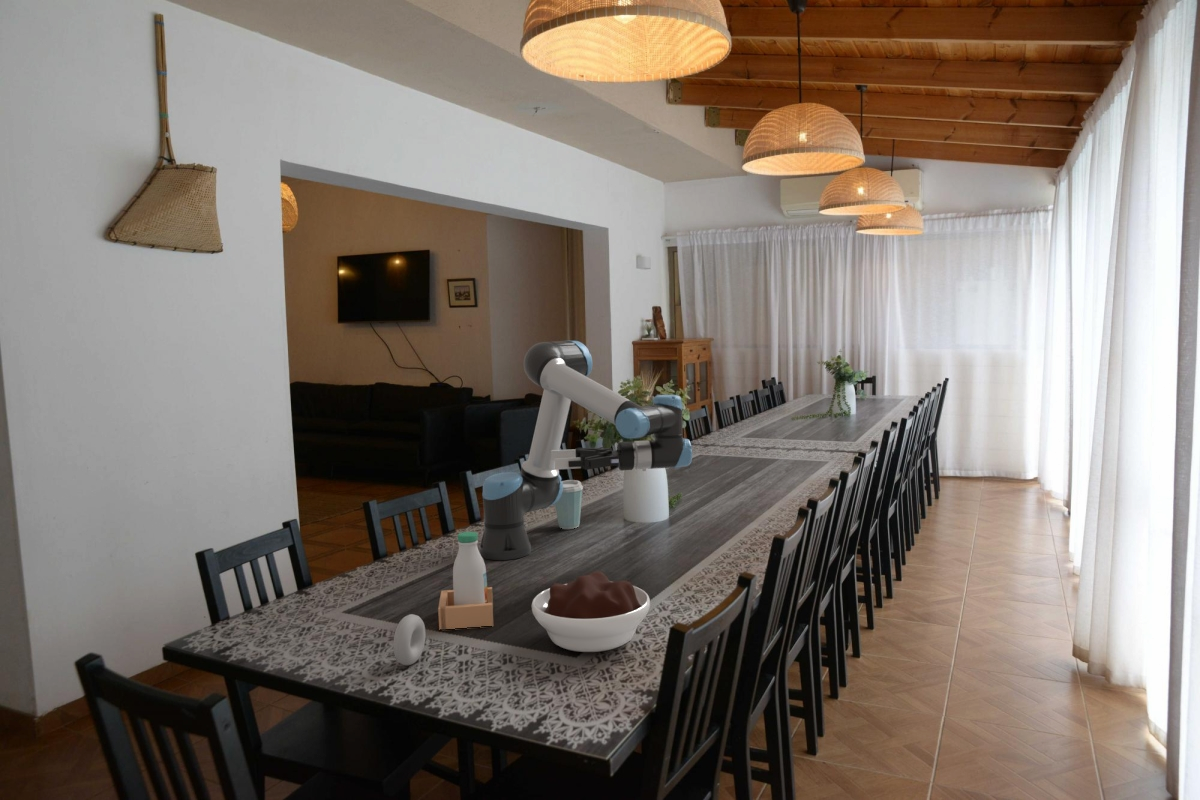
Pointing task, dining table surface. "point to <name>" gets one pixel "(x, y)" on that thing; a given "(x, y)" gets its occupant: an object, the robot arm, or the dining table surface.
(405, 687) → the dining table surface
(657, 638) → the dining table surface
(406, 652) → the donut
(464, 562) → the milk bottle
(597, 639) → the bowl of chocolate pudding
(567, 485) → the disposable coffee cup
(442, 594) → the box
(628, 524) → the dining table surface
